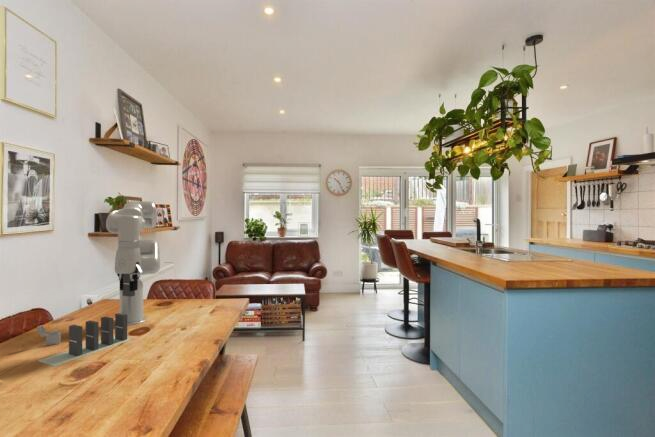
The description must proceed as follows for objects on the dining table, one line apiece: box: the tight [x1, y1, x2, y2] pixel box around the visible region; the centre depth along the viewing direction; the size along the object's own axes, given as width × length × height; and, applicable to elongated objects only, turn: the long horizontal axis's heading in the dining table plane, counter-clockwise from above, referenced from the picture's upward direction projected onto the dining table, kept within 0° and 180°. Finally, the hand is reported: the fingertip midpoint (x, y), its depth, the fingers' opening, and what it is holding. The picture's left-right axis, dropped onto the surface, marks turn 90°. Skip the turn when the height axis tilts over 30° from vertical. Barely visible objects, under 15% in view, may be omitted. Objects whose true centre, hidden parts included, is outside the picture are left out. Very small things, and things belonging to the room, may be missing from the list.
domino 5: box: [123, 271, 135, 297], centre depth 135 cm, size 2×5×10 cm, turn 68°
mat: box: [37, 335, 132, 367], centre depth 122 cm, size 10×27×1 cm, turn 156°
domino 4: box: [114, 312, 128, 341], centre depth 132 cm, size 2×5×10 cm, turn 66°
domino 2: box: [85, 320, 100, 351], centre depth 122 cm, size 2×5×10 cm, turn 66°
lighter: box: [36, 324, 62, 346], centre depth 127 cm, size 7×2×8 cm, turn 114°
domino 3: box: [100, 316, 115, 345], centre depth 127 cm, size 2×5×10 cm, turn 66°
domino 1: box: [68, 324, 83, 356], centre depth 117 cm, size 2×5×10 cm, turn 66°
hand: (128, 289), depth 135 cm, fingers closed on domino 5, 4 cm apart
